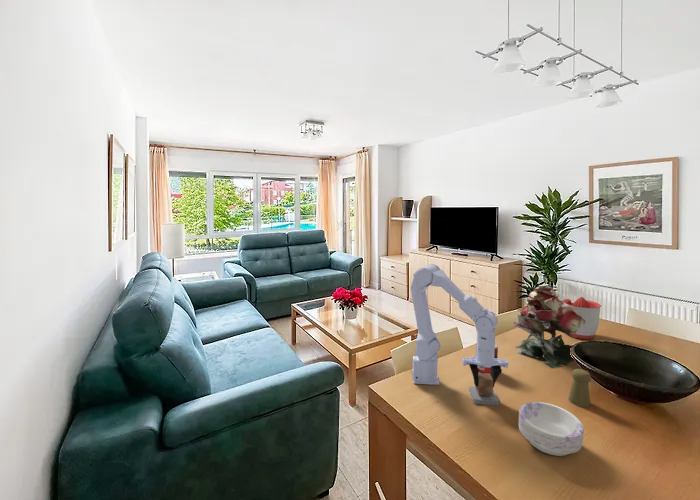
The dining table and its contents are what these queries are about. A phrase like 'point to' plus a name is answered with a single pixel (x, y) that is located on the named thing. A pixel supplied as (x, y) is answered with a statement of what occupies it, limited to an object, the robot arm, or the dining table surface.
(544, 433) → the paper bowls
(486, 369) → the canned food
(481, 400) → the slate slab
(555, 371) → the dining table surface
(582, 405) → the olive green pawn
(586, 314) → the citrus juicer
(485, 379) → the walnut block
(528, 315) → the rose bouquet
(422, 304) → the robot arm
